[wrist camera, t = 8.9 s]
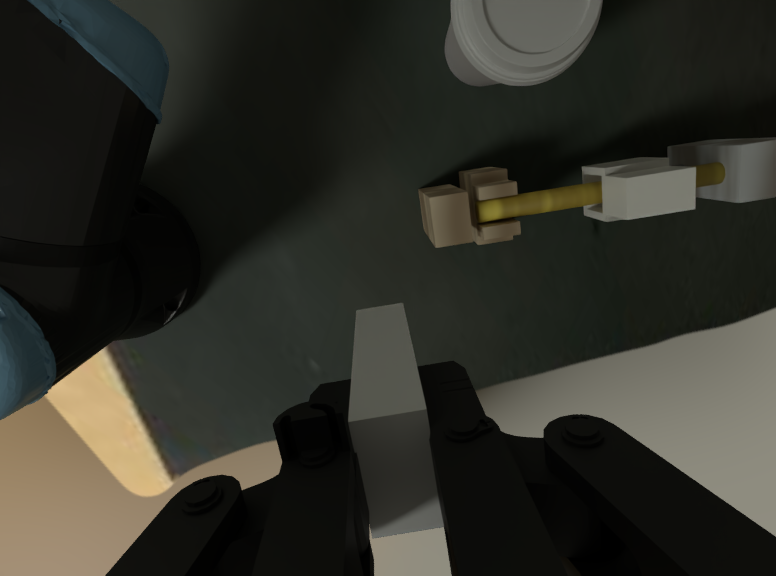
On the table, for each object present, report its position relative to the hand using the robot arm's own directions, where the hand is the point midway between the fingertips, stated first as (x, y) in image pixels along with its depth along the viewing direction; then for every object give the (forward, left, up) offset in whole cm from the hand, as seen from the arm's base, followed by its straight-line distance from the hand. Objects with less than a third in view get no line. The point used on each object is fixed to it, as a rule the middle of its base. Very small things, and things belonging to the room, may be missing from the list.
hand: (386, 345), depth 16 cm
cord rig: (+19, 0, -32) cm, 37 cm away
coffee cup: (+12, +13, -33) cm, 37 cm away
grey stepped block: (+21, 0, -27) cm, 34 cm away
